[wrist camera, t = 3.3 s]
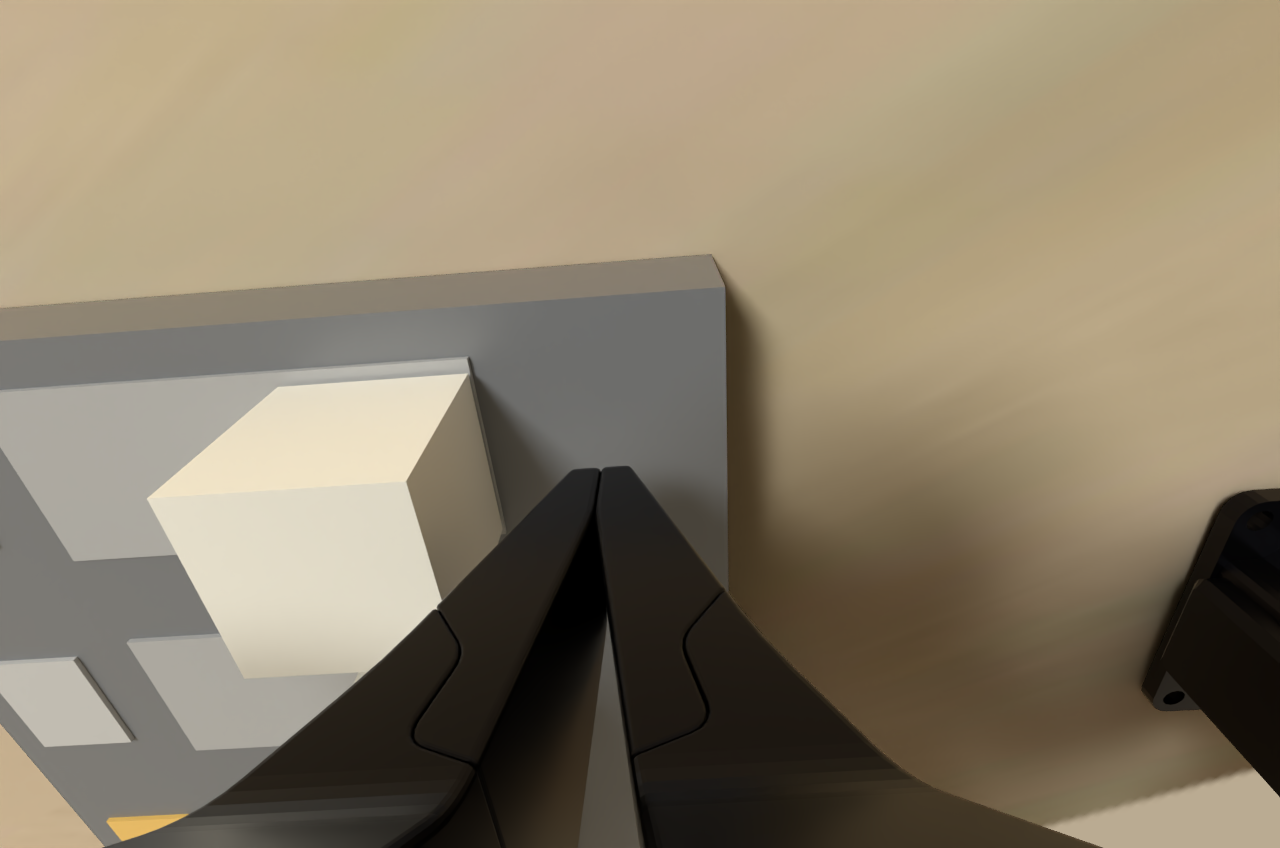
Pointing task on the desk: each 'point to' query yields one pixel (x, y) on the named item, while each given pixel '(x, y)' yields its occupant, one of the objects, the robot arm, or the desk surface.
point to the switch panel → (221, 395)
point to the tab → (333, 520)
